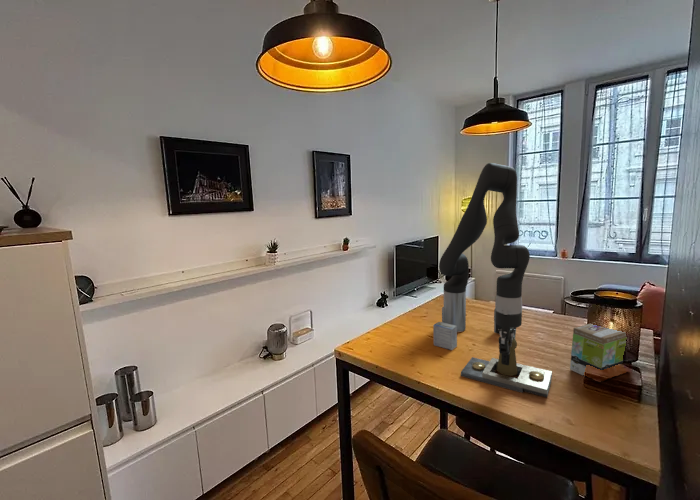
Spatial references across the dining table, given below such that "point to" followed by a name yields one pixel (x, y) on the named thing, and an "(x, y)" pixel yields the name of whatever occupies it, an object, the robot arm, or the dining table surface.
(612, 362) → the tea box
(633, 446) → the dining table surface
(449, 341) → the medicine box
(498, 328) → the battery charger
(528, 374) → the upper link plate
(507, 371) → the cork
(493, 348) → the dining table surface
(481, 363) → the lower link plate
